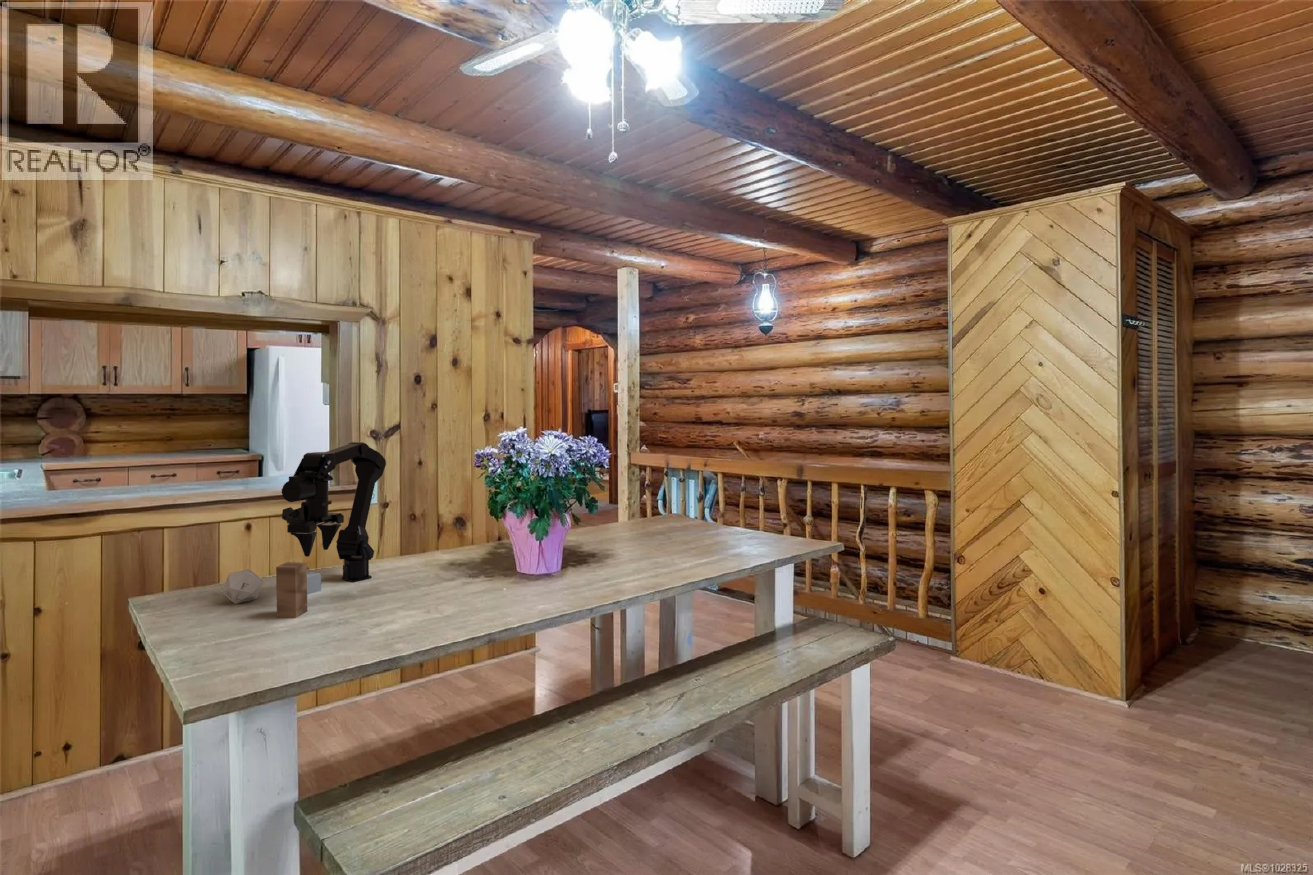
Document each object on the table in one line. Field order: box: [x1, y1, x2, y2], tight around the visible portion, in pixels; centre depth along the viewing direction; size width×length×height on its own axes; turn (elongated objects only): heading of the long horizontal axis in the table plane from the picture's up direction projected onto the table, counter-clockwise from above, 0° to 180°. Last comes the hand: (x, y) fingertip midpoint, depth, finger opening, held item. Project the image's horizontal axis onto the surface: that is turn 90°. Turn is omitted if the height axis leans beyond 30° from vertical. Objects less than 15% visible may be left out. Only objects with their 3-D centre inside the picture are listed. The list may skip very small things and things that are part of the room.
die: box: [221, 568, 264, 605], centre depth 182 cm, size 8×9×10 cm
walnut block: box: [275, 561, 308, 619], centre depth 171 cm, size 5×5×13 cm
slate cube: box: [307, 571, 322, 596], centre depth 191 cm, size 5×5×5 cm
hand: (316, 553), depth 187 cm, fingers open, 9 cm apart
